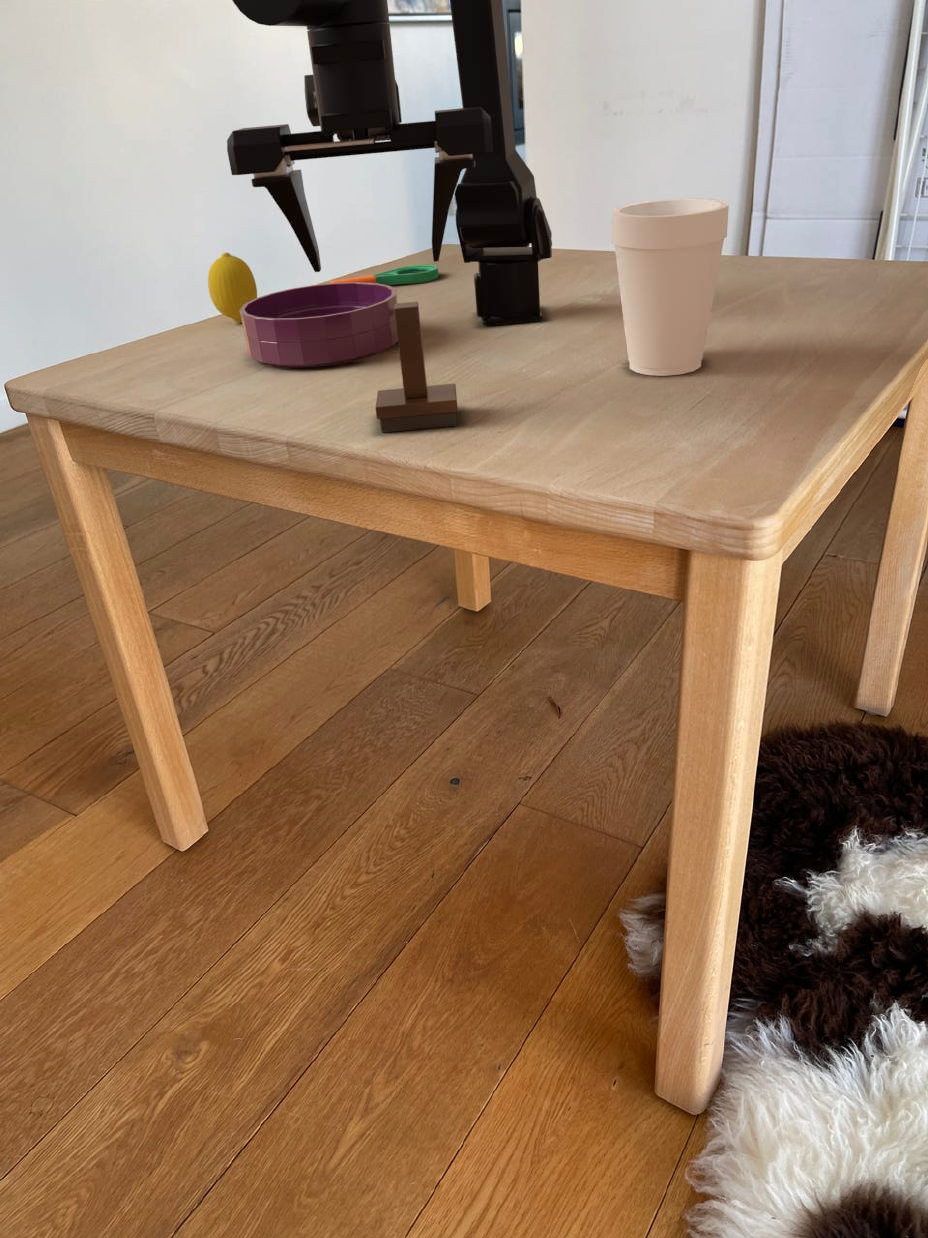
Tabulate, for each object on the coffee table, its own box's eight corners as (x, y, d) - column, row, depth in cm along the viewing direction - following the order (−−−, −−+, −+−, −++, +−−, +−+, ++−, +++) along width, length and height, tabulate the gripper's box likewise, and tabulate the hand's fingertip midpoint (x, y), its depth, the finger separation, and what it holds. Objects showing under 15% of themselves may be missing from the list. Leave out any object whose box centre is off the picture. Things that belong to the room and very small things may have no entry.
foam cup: (654, 388, 77) (657, 220, 70) (591, 364, 84) (589, 211, 78) (742, 365, 80) (754, 203, 74) (674, 344, 88) (679, 195, 81)
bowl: (403, 323, 104) (398, 276, 102) (400, 362, 90) (393, 309, 88) (262, 336, 104) (253, 290, 102) (238, 377, 91) (227, 325, 88)
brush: (457, 408, 77) (447, 294, 72) (459, 426, 73) (448, 307, 68) (381, 416, 77) (366, 302, 72) (378, 434, 73) (362, 315, 68)
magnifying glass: (426, 272, 128) (425, 259, 128) (446, 277, 124) (445, 264, 123) (325, 291, 123) (323, 278, 122) (341, 298, 118) (339, 284, 117)
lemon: (252, 327, 108) (237, 255, 104) (208, 329, 110) (193, 258, 105) (269, 316, 113) (256, 246, 109) (228, 317, 114) (213, 249, 110)
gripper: (479, 21, 70) (492, 239, 78) (236, 43, 71) (273, 258, 79) (485, 12, 61) (499, 262, 69) (204, 38, 61) (250, 284, 69)
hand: (377, 265), depth 72 cm, fingers open, 9 cm apart
